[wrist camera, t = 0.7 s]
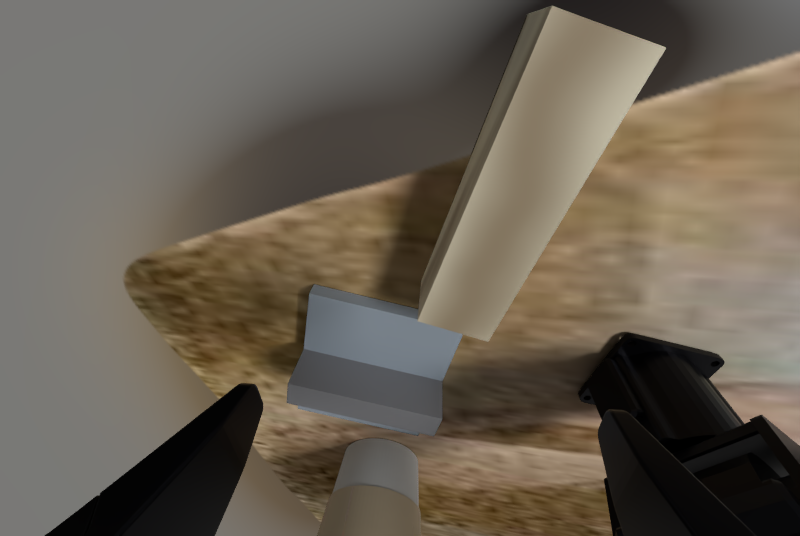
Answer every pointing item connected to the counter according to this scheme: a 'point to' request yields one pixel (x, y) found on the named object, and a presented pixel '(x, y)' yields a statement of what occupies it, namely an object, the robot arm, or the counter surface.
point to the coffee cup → (374, 492)
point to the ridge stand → (371, 363)
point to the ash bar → (530, 163)
